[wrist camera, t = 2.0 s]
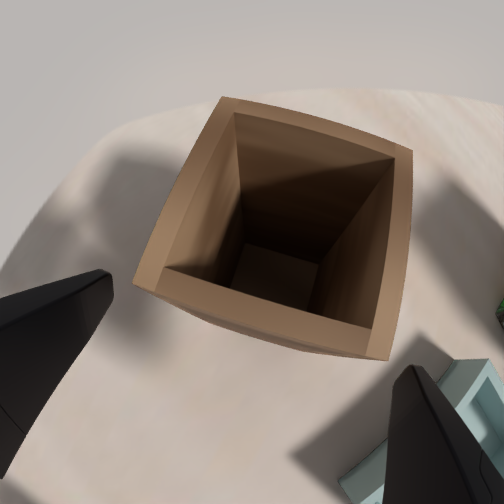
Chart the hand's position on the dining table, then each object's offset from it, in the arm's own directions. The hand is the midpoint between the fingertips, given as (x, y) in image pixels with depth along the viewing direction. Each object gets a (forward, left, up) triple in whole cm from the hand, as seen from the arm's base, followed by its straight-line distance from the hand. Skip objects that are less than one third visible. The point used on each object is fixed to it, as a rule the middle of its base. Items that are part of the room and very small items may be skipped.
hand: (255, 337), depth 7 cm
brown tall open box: (+2, +2, -10) cm, 11 cm away
